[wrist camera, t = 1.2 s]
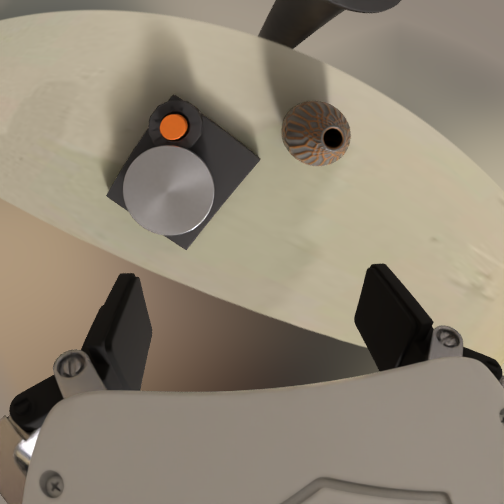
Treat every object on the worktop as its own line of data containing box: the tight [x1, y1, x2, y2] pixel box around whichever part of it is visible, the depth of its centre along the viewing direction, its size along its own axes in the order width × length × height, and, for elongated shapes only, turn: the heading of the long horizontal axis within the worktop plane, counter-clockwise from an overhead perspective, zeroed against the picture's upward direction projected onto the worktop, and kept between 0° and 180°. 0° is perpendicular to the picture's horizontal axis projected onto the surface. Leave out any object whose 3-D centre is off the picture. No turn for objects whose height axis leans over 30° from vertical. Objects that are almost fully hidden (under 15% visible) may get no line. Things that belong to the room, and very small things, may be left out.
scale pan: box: [123, 145, 214, 235], centre depth 29 cm, size 10×10×1 cm
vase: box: [282, 101, 351, 166], centre depth 26 cm, size 7×7×9 cm
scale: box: [106, 95, 260, 250], centre depth 30 cm, size 14×12×3 cm
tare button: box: [160, 114, 188, 140], centre depth 26 cm, size 3×3×2 cm
